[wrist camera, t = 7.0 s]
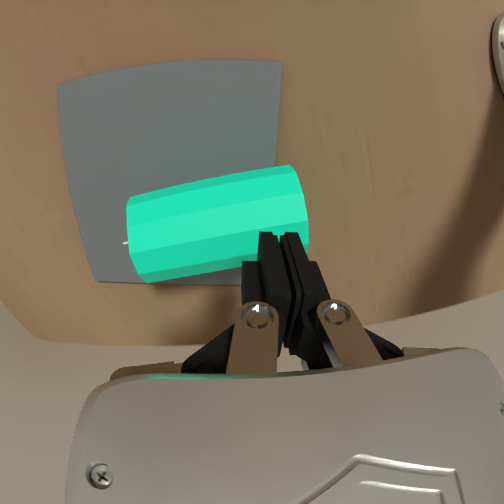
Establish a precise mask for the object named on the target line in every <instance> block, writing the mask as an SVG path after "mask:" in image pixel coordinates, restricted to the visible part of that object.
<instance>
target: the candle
mask: <svg viewBox="0 0 504 504" xmlns="http://www.w3.org/2000/svg"><path fill="white" fill-rule="evenodd" d="M126 214H127V235H128V242H124V243H123V245H124V244H128V245H129V254H130V256H131V259H132V261H133V264H134V266H135V268H136V270H137V273H138V275H139V276H140V277H141V278H142V279H143V280H144V281H145V282H146V283H151V282H157V281H163V280H169V279H175V278H181V277H186V276H192V275H198V274H203V273H209V272H215V271H220V270H226V269H232V268H237V267H242V261H257V253H258V239H259V232H260V231H264V232H272V233H273V235H277V237H278V241H279V239H280V235H284V233H285V232H298V234H299V236H300V239H301V241H302V244H303V247H304V249H305V252H306V254H307V250H308V246H309V231H308V217H307V212H306V206H305V201H304V196H303V192H302V189H301V186H300V183H299V180H298V177H297V174H296V172H295V171H294V169H293V168H292V167H291V166H290V165H284V166H277V167H271V168H264V169H258V170H252V171H246V172H241V173H235V174H230V175H224V176H219V177H214V178H209V179H204V180H199V181H195V182H190V183H186V184H181V185H177V186H172V187H168V188H164V189H160V190H156V191H152V192H148V193H144V194H140V195H136V196H132V197H129V200H128V203H127V206H126Z"/></svg>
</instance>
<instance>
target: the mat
mask: <svg viewBox="0 0 504 504" xmlns="http://www.w3.org/2000/svg"><path fill="white" fill-rule="evenodd" d="M282 66H283V63H279V62H267V61H251V60H195V61H178V62H167V63H157V64H149V65H142V66H135V67H129V68H123V69H117V70H112V71H107V72H103V73H98V74H94V75H90V76H85V77H82V78H78V79H74V80H71V81H67V82H64V83H60V84H58V105H59V119H60V129H61V138H62V146H63V154H64V160H65V166H66V172H67V178H68V183H69V188H70V193H71V198H72V202H73V207H74V211H75V215H76V219H77V223H78V227H79V230H80V234H81V238H82V241H83V245H84V248H85V251H86V254H87V258H88V261H89V264H90V267H91V270H92V273H93V276H94V279H95V281H106V282H128V283H146V282H145V281H144V280H143V279H142V278H141V277H140V276H139V275H138V273H137V270H136V268H135V266H134V264H133V261H132V259H131V256H130V254H129V245H128V244H124V245H123V243H124V242H128V235H127V214H126V206H127V203H128V200H129V197H132V196H136V195H140V194H144V193H148V192H152V191H156V190H160V189H164V188H168V187H172V186H177V185H181V184H186V183H190V182H195V181H199V180H204V179H209V178H214V177H219V176H224V175H230V174H235V173H241V172H246V171H252V170H258V169H264V168H271V167H275V158H276V146H277V134H278V121H279V108H280V94H281V80H282ZM241 276H242V267H237V268H232V269H226V270H220V271H215V272H209V273H203V274H198V275H192V276H186V277H181V278H175V279H169V280H163V281H157V282H151V283H157V284H200V285H241Z"/></svg>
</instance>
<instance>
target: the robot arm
mask: <svg viewBox="0 0 504 504" xmlns="http://www.w3.org/2000/svg"><path fill="white" fill-rule="evenodd" d="M492 48H493V57H494V63H495V68H496V72H497V77H498V80H499V83H500V86H501V89H502V92H503V94H504V14H502V15H500V16H499V17H498V18H497V19H496V21H495V24H494V26H493V33H492ZM241 292H242V306H241V307H240V308H239V309H238V312H237V314H236V320H235V324H233V325H232V326H231V327H229V328H228V329H227V330H225V331H224V332H223V333H221V334H220V335H218V336H217V337H216V338H214V339H213V340H212V341H210V342H209V343H208V344H206V345H205V346H203V347H202V348H201V349H199V350H198V351H197V352H195V353H194V354H192V355H191V356H190V357H188V358H187V360H185V361H184V363H178V364H174V361H172V362H165V363H158V364H149V365H140V366H131V367H124V368H120V369H118V370H116V371H115V372H114V373H113V374H112V375H111V377H110V381H108V382H106V383H104V384H102V385H100V386H98V387H97V388H95V389H94V390H93V391H92V392H91V393H90V394H89V396H88V397H87V399H86V401H85V403H84V405H83V407H82V410H81V412H80V415H79V418H78V421H77V424H76V428H75V432H74V435H73V440H72V445H71V451H70V457H69V462H68V470H67V480H66V493H65V504H504V382H503V379H502V378H501V376H500V374H499V372H498V370H497V369H496V367H495V365H494V364H493V363H492V361H491V360H490V359H489V357H488V356H487V355H486V354H484V353H483V352H481V351H478V350H476V349H471V348H460V347H455V348H446V349H434V348H433V349H432V348H407V347H403V348H402V350H400V348H398V347H397V346H396V345H394V344H392V343H391V342H389V341H387V340H385V339H383V338H382V337H380V336H378V335H376V334H374V333H372V332H371V331H369V330H367V329H365V328H364V327H363V326H362V324H361V322H360V321H359V319H358V318H357V316H356V314H355V313H354V311H353V310H352V308H351V307H350V306H349V305H347V304H346V303H344V302H342V301H339V300H331V298H330V295H329V292H328V290H327V287H326V285H325V282H324V279H323V277H322V274H321V272H320V269H319V267H318V264H317V262H316V261H309V260H308V257H307V255H306V252H305V249H304V247H303V244H302V241H301V239H300V236H299V234H298V232H285V233H284V235H280V239H279V241H278V237H277V235H273V233H272V232H264V231H260V232H259V239H258V253H257V261H242V276H241ZM282 343H283V344H284V347H285V348H289V353H290V355H297V356H298V357H300V358H301V359H302V360H301V364H302V367H303V370H304V371H292V372H277V358H278V357H279V356H280V352H281V346H282ZM108 466H109V467H108Z"/></svg>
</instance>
